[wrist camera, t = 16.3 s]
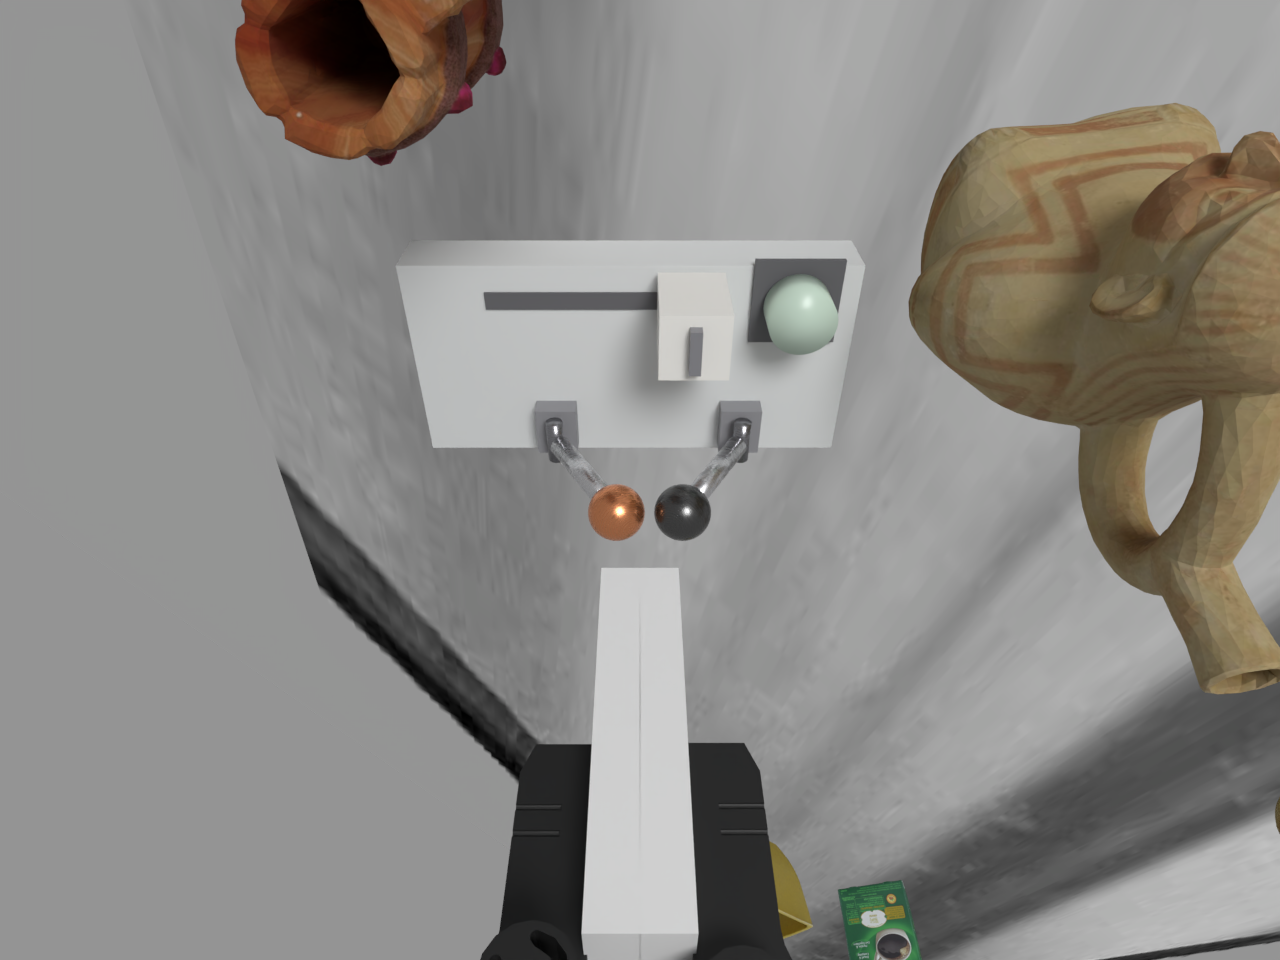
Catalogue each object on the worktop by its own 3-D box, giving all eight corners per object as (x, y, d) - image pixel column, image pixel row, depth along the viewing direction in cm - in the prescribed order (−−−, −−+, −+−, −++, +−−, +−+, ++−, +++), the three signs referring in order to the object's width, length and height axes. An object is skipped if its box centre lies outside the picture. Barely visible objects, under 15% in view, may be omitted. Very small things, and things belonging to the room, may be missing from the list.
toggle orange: (526, 422, 45) (604, 516, 39) (573, 408, 46) (655, 497, 40) (531, 463, 47) (605, 560, 40) (575, 449, 48) (655, 540, 42)
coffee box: (839, 898, 97) (863, 1021, 86) (834, 888, 95) (858, 1013, 85) (905, 887, 95) (937, 1012, 85) (901, 877, 93) (933, 1003, 83)
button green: (766, 274, 41) (772, 292, 39) (835, 274, 41) (843, 292, 39) (760, 335, 43) (765, 355, 42) (825, 335, 43) (832, 354, 42)
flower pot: (749, 815, 84) (759, 902, 77) (801, 842, 88) (815, 928, 81) (691, 844, 88) (695, 930, 81) (743, 869, 92) (751, 953, 85)
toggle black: (723, 408, 46) (643, 497, 40) (770, 422, 45) (696, 516, 39) (720, 449, 48) (643, 540, 42) (765, 463, 47) (693, 560, 40)
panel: (409, 233, 44) (388, 268, 40) (852, 233, 44) (872, 267, 40) (444, 416, 52) (429, 459, 48) (820, 416, 52) (834, 459, 48)
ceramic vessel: (1249, 25, 38) (1909, 207, 18) (1133, 375, 50) (1451, 709, 30) (891, 66, 39) (1147, 280, 19) (863, 398, 51) (1002, 736, 31)
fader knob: (657, 272, 41) (659, 321, 37) (725, 272, 41) (735, 321, 37) (656, 333, 44) (658, 386, 39) (721, 333, 44) (730, 386, 39)
